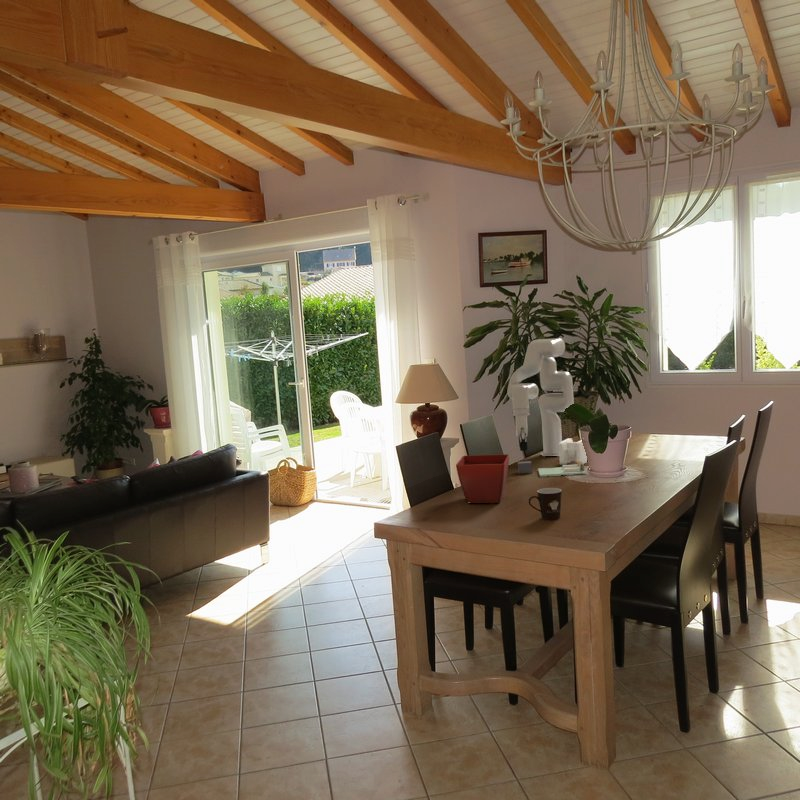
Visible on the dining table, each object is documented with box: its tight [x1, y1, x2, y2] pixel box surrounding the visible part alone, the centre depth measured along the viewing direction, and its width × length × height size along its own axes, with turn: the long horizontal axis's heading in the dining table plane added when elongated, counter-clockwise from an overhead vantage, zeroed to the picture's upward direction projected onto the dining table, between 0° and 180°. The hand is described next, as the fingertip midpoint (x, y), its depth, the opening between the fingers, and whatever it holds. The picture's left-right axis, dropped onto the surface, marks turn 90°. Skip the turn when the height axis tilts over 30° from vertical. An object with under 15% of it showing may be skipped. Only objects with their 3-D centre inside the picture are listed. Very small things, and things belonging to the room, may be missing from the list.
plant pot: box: [455, 453, 510, 504], centre depth 308 cm, size 19×19×17 cm
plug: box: [517, 460, 533, 474], centre depth 355 cm, size 4×6×5 cm, turn 83°
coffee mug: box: [528, 487, 563, 521], centre depth 275 cm, size 12×9×10 cm
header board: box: [537, 460, 586, 478], centre depth 349 cm, size 14×20×5 cm
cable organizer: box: [558, 437, 588, 466], centre depth 365 cm, size 15×11×12 cm
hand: (523, 448), depth 353 cm, fingers open, 9 cm apart
